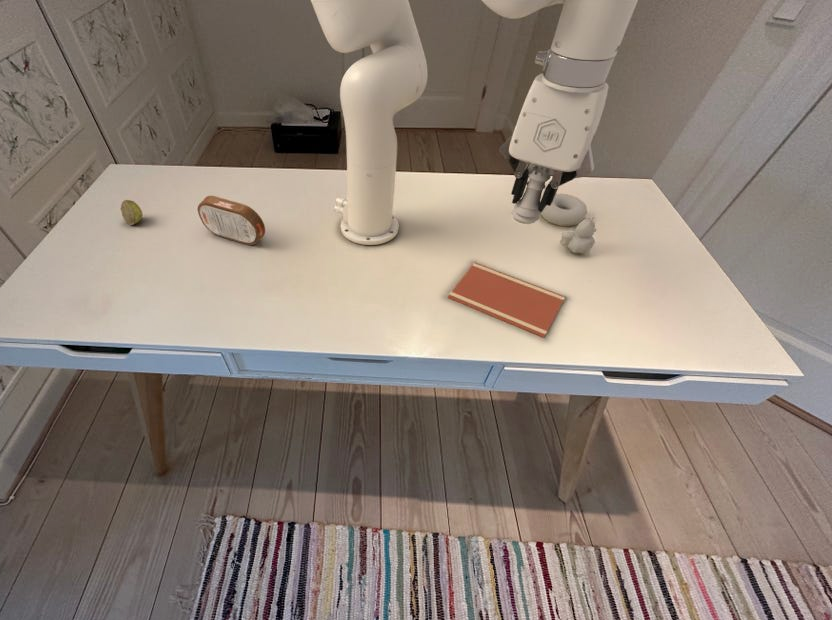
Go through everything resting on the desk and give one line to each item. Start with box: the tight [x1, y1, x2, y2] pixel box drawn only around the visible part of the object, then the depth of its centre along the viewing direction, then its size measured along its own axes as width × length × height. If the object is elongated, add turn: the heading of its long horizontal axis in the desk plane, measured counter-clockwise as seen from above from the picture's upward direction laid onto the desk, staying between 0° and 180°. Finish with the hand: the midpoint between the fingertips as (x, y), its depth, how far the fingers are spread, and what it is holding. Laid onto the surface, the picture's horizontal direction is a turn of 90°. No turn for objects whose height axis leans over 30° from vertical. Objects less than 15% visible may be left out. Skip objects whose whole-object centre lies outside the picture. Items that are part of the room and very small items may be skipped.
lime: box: [120, 199, 144, 226], centre depth 92 cm, size 4×5×5 cm
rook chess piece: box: [511, 165, 552, 225], centre depth 66 cm, size 4×4×8 cm
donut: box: [540, 193, 588, 227], centre depth 93 cm, size 10×4×10 cm
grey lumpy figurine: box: [559, 215, 597, 254], centre depth 84 cm, size 5×7×8 cm
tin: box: [197, 195, 266, 246], centre depth 87 cm, size 15×3×8 cm, turn 65°
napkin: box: [447, 262, 566, 339], centre depth 78 cm, size 18×12×1 cm, turn 56°
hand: (529, 202), depth 67 cm, fingers closed on rook chess piece, 3 cm apart
